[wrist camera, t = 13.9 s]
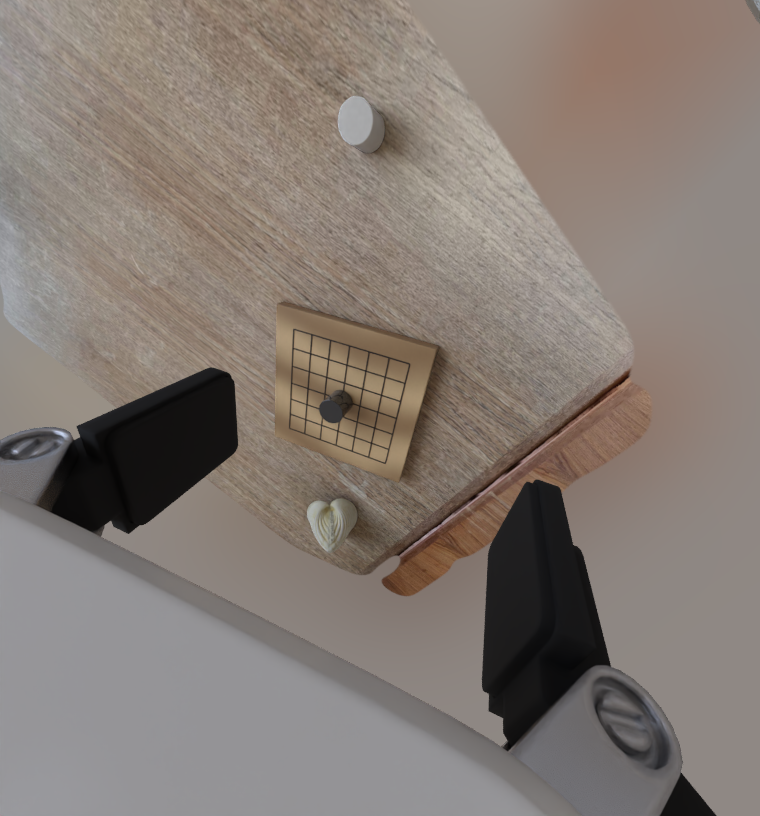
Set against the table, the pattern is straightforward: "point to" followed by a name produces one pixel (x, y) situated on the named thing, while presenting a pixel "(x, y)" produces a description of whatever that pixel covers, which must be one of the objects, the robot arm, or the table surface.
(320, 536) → the seashell
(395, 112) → the table surface
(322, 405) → the black stone
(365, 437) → the board
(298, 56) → the table surface
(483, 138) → the table surface
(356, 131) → the grey cylinder
